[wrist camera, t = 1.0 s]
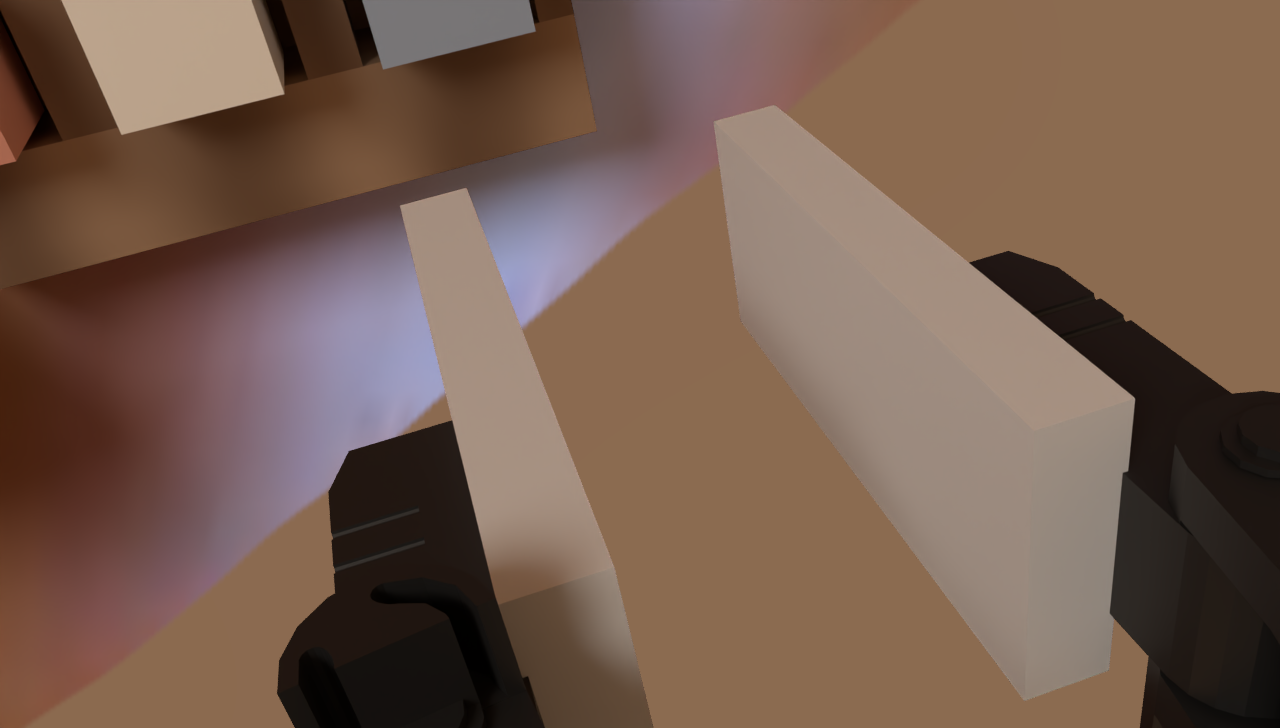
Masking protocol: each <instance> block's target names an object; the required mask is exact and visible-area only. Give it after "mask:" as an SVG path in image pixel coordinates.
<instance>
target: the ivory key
mask: <svg viewBox="0 0 1280 728" xmlns="http://www.w3.org/2000/svg"><path fill="white" fill-rule="evenodd" d="M61 1H62V3H63V5H64V7H65V9H66V12H67V14H68V16H69V18H70V21H71V23H72V25H73V27H74V30H75V32H76V34H77V36H78V39H79V41H80V43H81V45H82V48H83V50H84V52H85V54H86V56H87V59H88V61H89V63H90V65H91V68H92V70H93V72H94V74H95V77H96V79H97V81H98V83H99V86H100V88H101V90H102V92H103V95H104V97H105V99H106V101H107V104H108V106H109V108H110V110H111V112H112V115H113V117H114V119H115V121H116V124H117V126H118V128H119V130H120V133H121V135H123V134H127V133H131V132H135V131H139V130H143V129H147V128H151V127H155V126H159V125H163V124H167V123H171V122H175V121H179V120H183V119H187V118H191V117H195V116H199V115H203V114H207V113H211V112H215V111H219V110H223V109H227V108H231V107H235V106H239V105H243V104H247V103H251V102H255V101H259V100H263V99H267V98H271V97H275V96H279V95H283V94H285V93H284V52H283V49H282V46H281V43H280V40H279V37H278V34H277V32H276V29H275V26H274V23H273V20H272V17H271V14H270V11H269V9H268V6H267V3H266V0H61Z"/></svg>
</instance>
